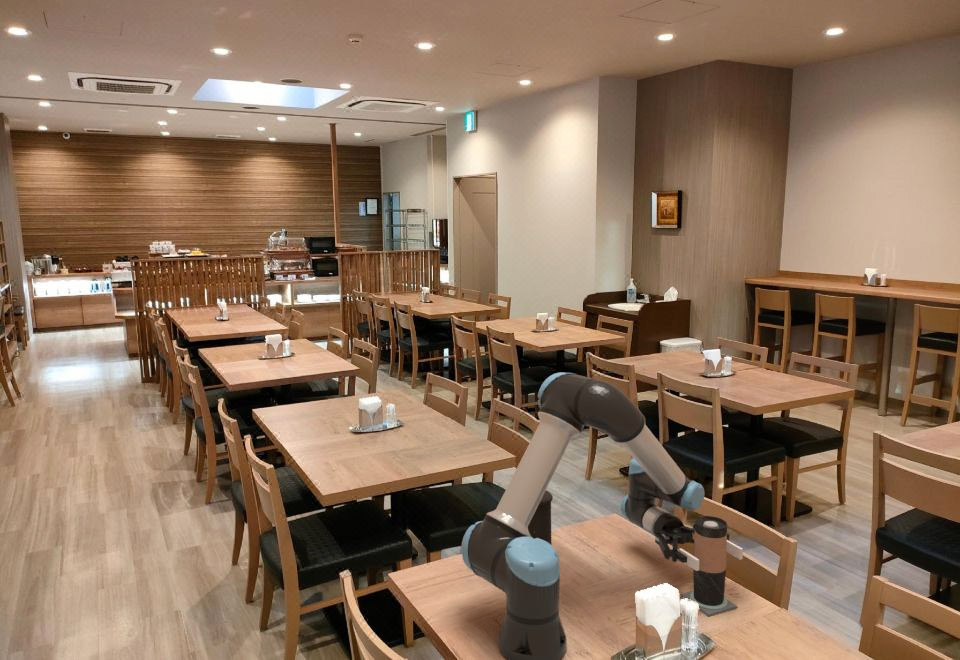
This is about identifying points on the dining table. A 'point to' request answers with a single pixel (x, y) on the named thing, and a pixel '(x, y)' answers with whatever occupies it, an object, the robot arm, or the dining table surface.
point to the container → (542, 519)
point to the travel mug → (710, 560)
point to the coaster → (711, 610)
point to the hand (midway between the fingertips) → (720, 559)
